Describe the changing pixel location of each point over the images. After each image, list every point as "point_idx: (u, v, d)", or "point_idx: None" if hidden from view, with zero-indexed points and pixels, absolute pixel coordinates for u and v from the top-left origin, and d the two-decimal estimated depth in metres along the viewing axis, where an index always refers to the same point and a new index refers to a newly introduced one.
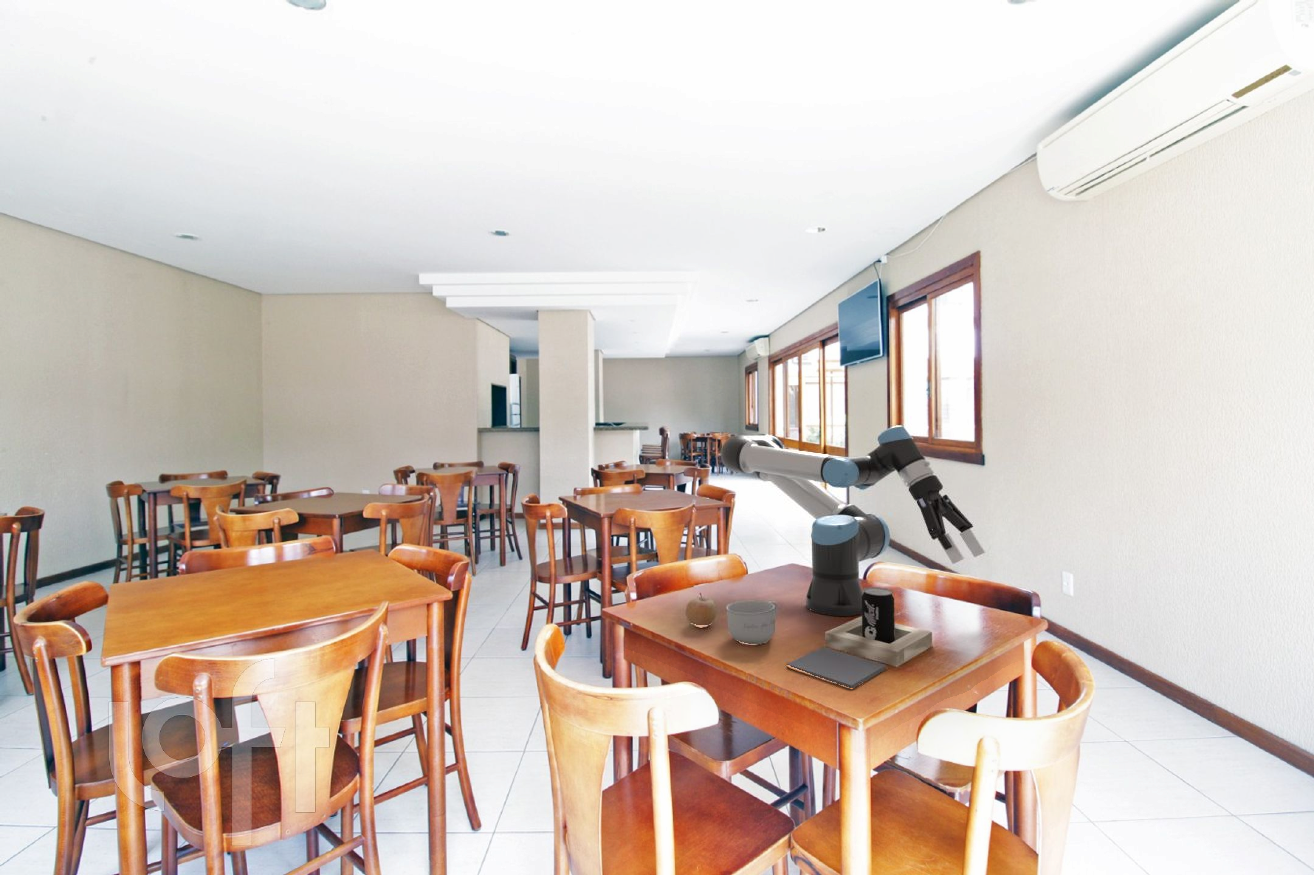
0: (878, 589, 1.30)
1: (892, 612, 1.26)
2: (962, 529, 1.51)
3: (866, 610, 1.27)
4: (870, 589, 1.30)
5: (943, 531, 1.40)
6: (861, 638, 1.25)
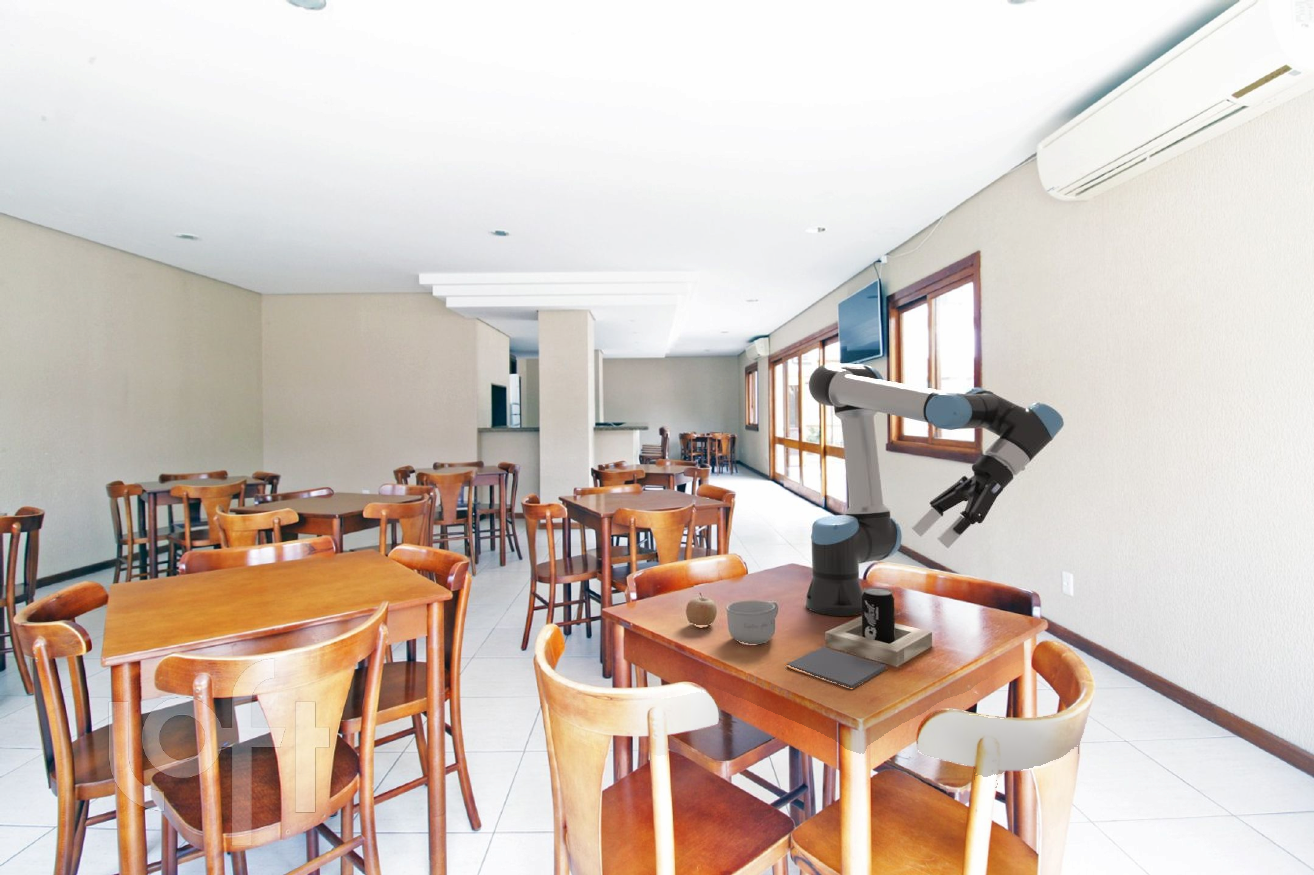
0: (878, 589, 1.30)
1: (892, 612, 1.26)
2: (936, 507, 1.35)
3: (866, 610, 1.27)
4: (870, 589, 1.30)
5: (974, 522, 1.19)
6: (861, 638, 1.25)
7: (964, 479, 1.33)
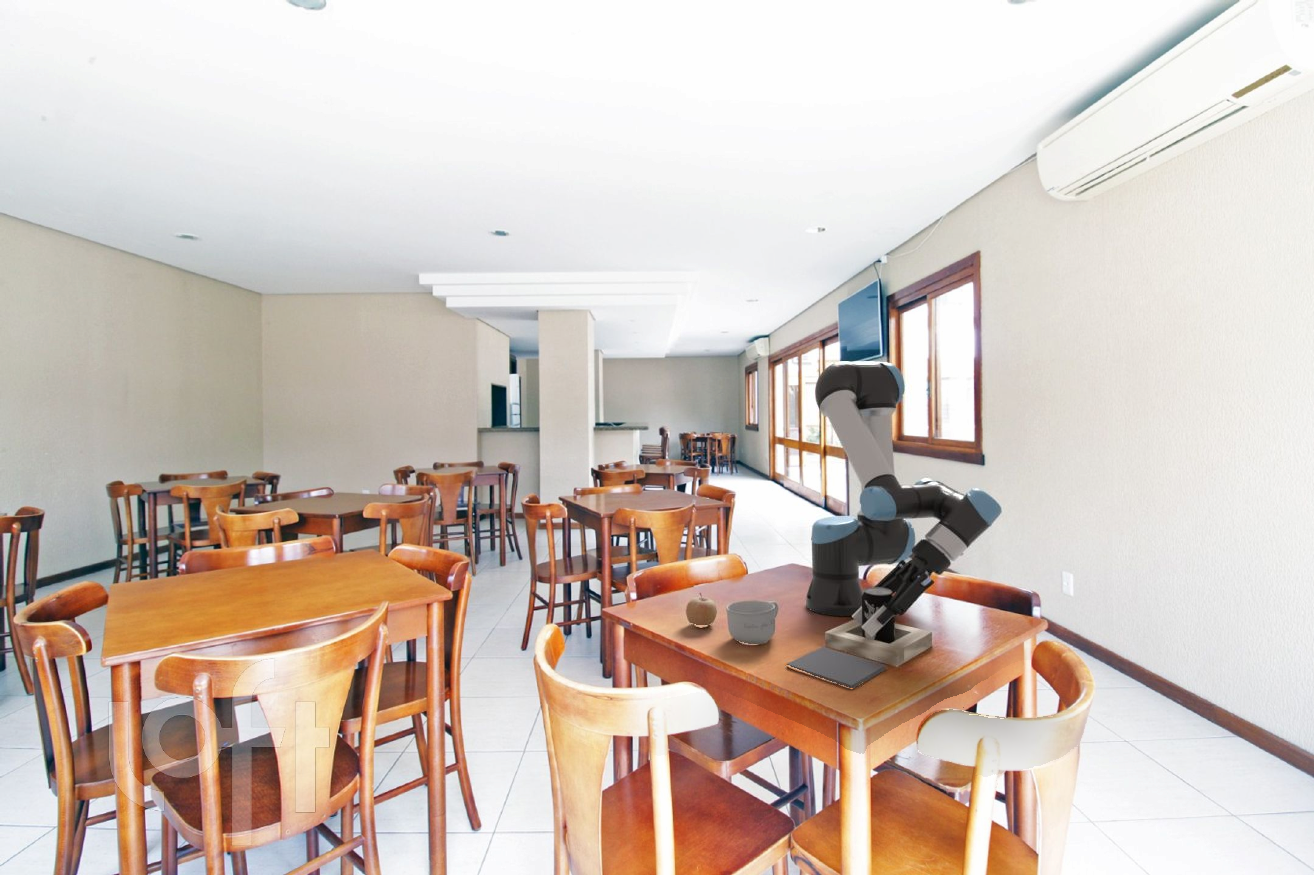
0: (878, 589, 1.30)
1: None
2: None
3: (866, 610, 1.27)
4: (870, 589, 1.30)
5: (896, 614, 1.23)
6: (861, 638, 1.25)
7: (903, 563, 1.33)
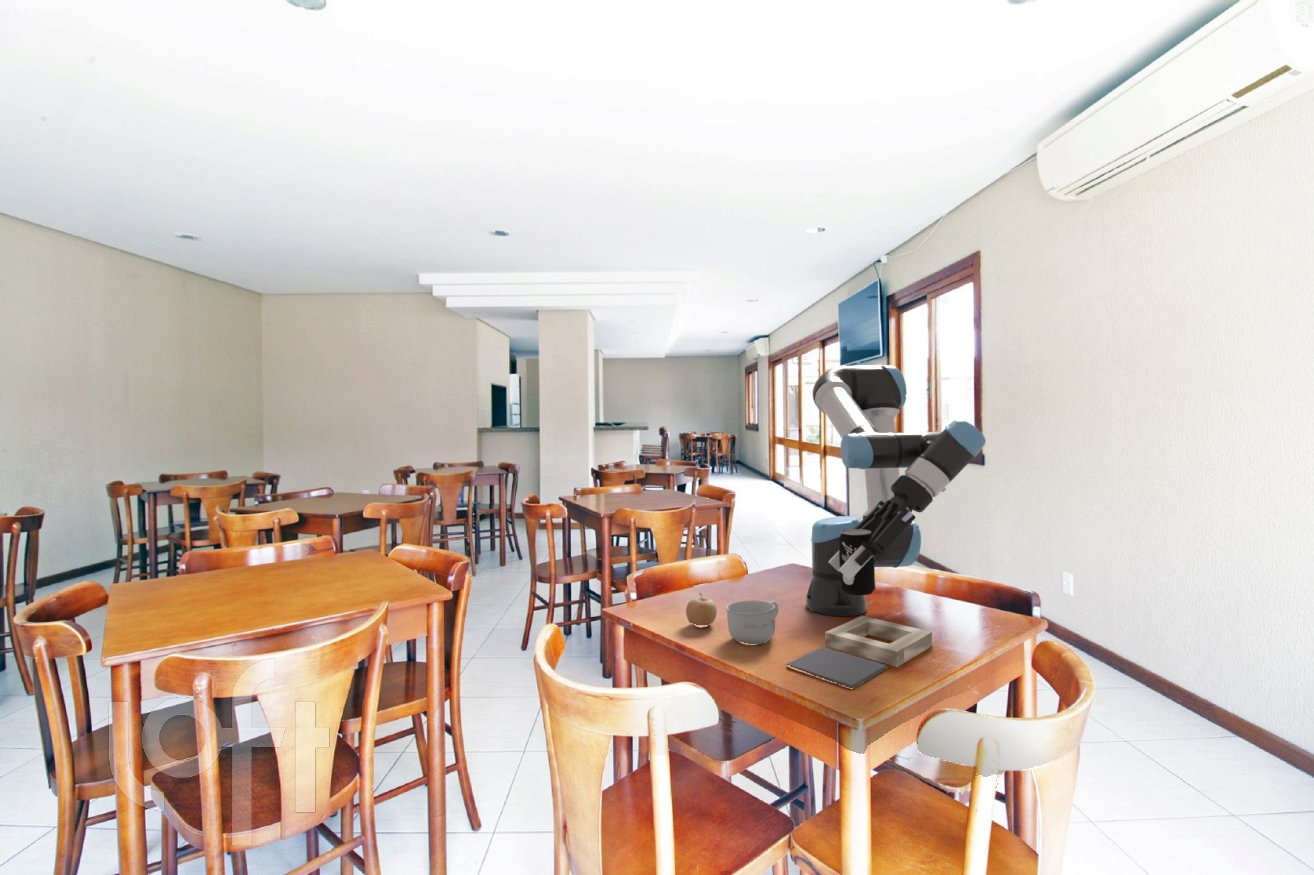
0: (856, 531, 1.21)
1: None
2: None
3: (843, 552, 1.17)
4: (848, 531, 1.21)
5: (876, 553, 1.14)
6: (861, 638, 1.25)
7: (882, 503, 1.24)
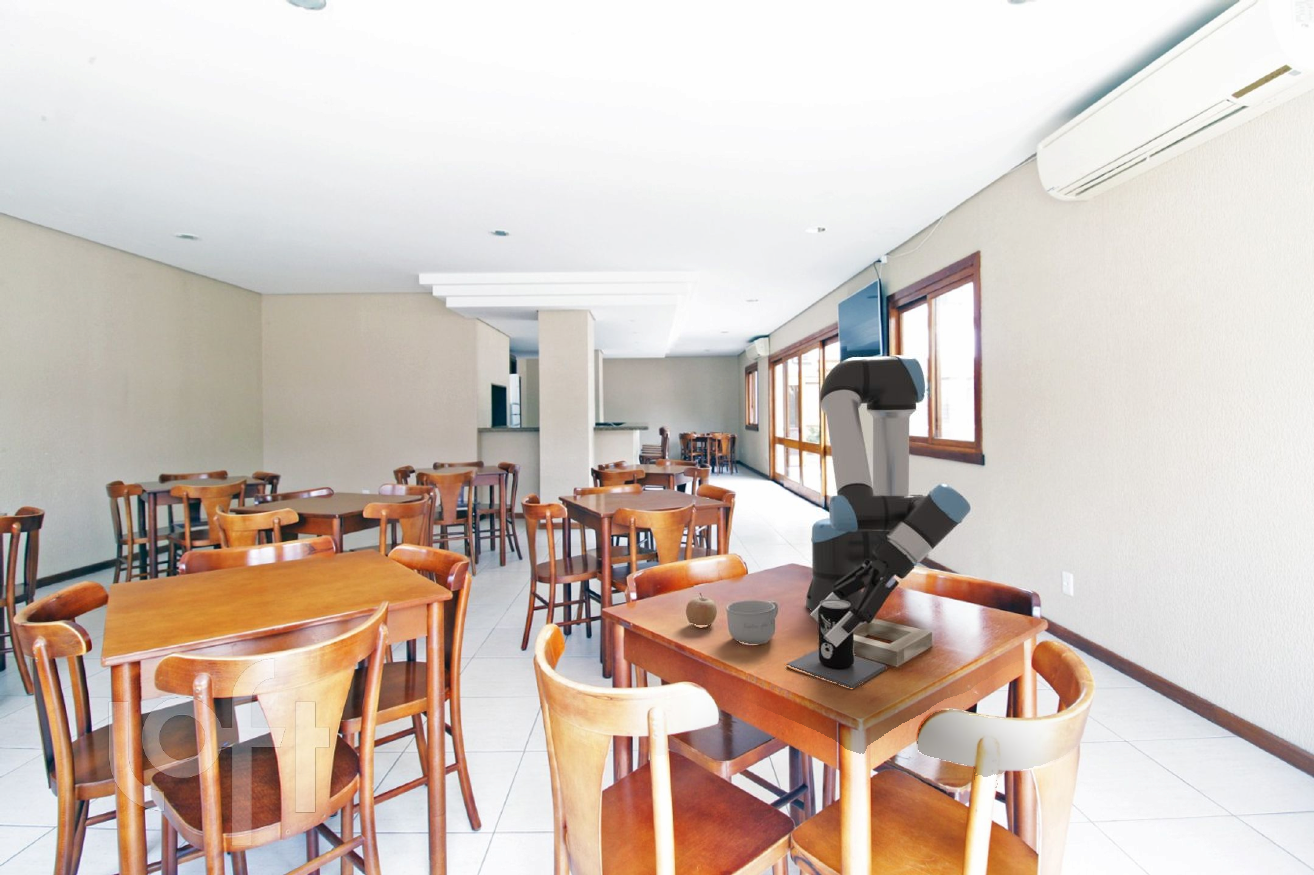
0: (836, 601, 1.19)
1: None
2: (837, 593, 1.24)
3: (822, 625, 1.16)
4: (828, 601, 1.19)
5: (864, 620, 1.09)
6: (861, 638, 1.25)
7: (867, 562, 1.22)
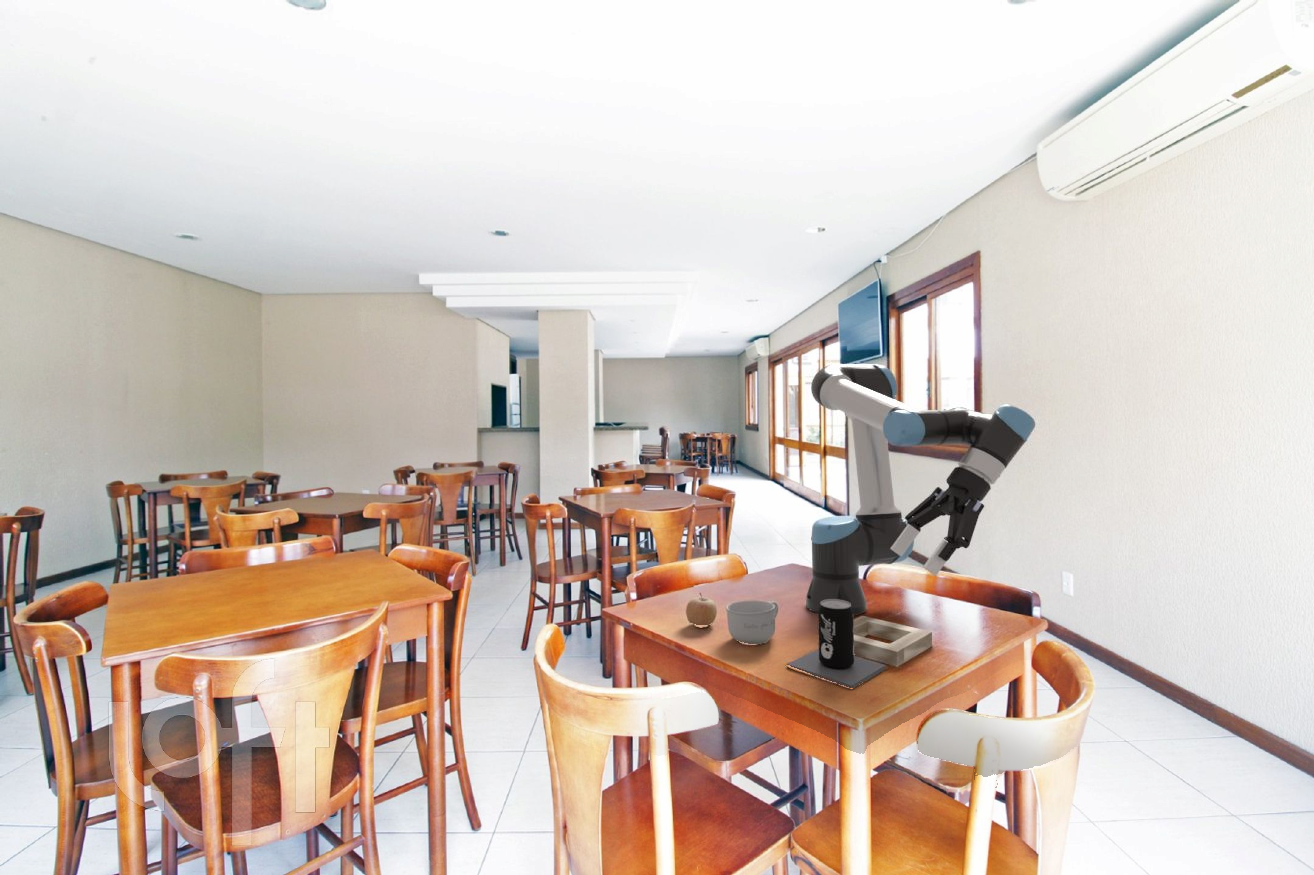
0: (837, 601, 1.19)
1: (850, 627, 1.15)
2: (913, 524, 1.27)
3: (822, 625, 1.16)
4: (828, 601, 1.19)
5: None
6: (861, 638, 1.25)
7: (938, 491, 1.25)
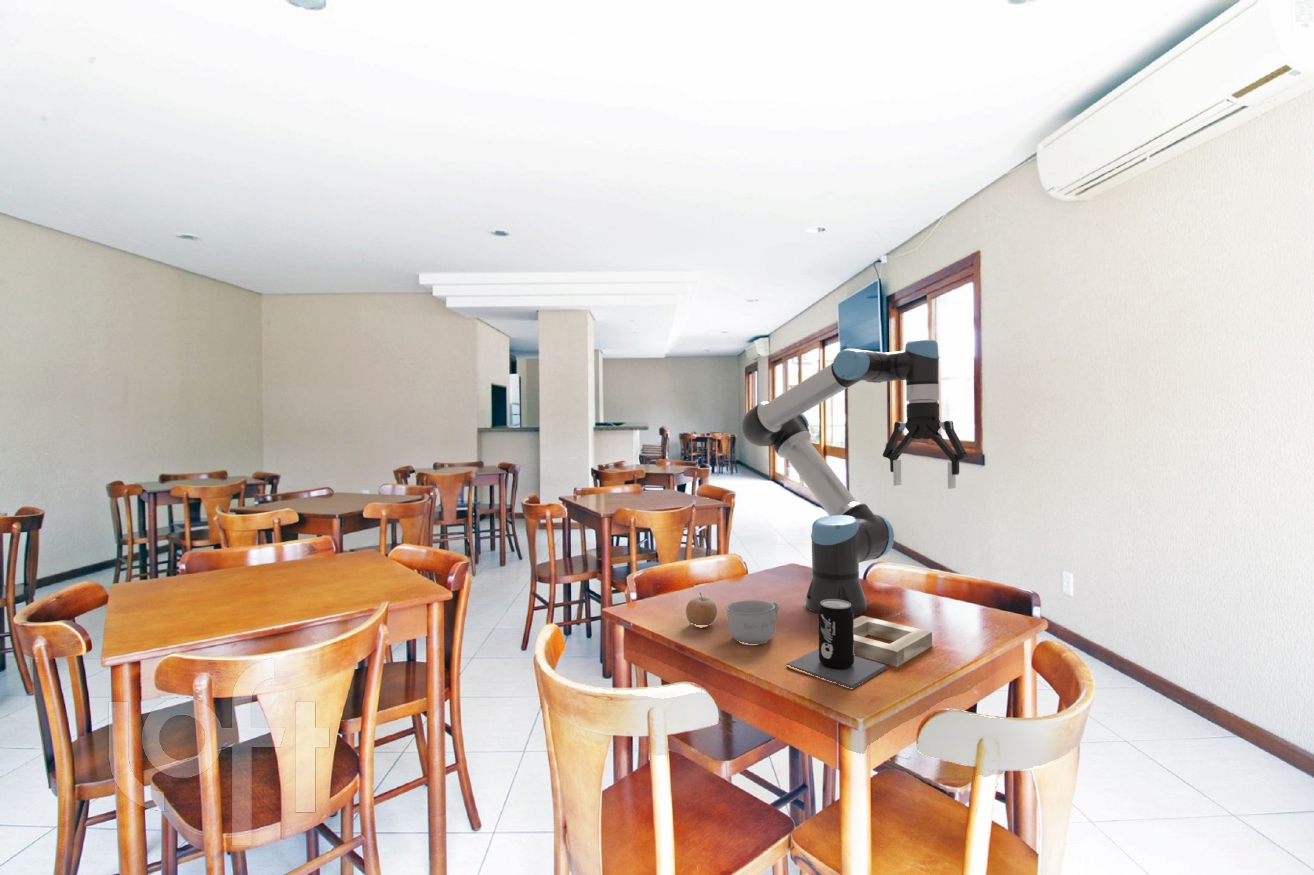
0: (837, 601, 1.19)
1: (850, 627, 1.15)
2: (895, 457, 1.55)
3: (822, 625, 1.16)
4: (828, 601, 1.19)
5: None
6: (861, 638, 1.25)
7: (899, 425, 1.54)
